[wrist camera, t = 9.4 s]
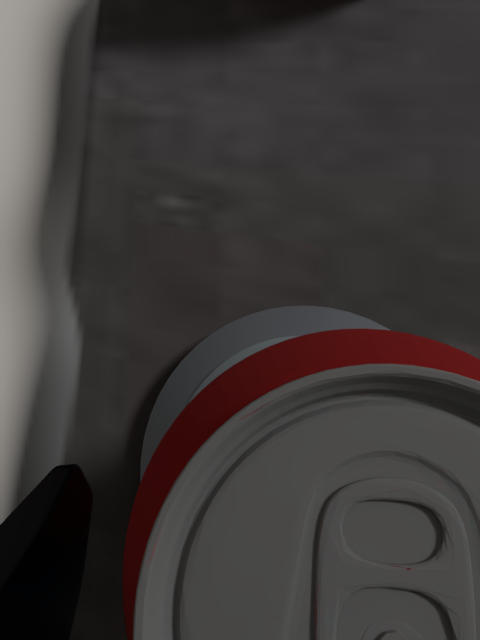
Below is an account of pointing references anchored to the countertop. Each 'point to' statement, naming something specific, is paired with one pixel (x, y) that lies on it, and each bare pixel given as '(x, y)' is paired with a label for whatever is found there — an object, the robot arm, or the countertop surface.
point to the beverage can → (315, 498)
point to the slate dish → (236, 357)
